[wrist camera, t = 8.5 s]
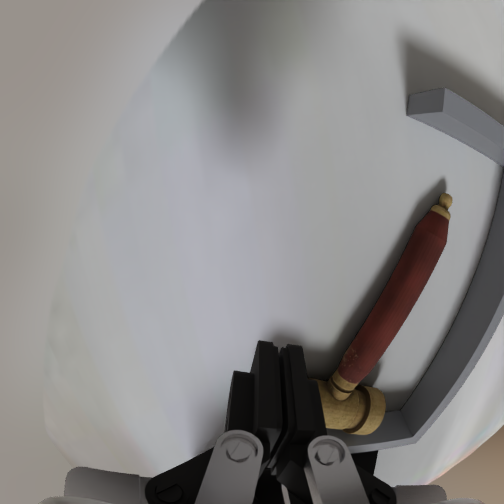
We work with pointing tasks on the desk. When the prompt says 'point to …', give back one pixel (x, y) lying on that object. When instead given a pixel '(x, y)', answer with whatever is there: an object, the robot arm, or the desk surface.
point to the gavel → (383, 329)
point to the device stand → (270, 489)
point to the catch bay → (476, 301)
